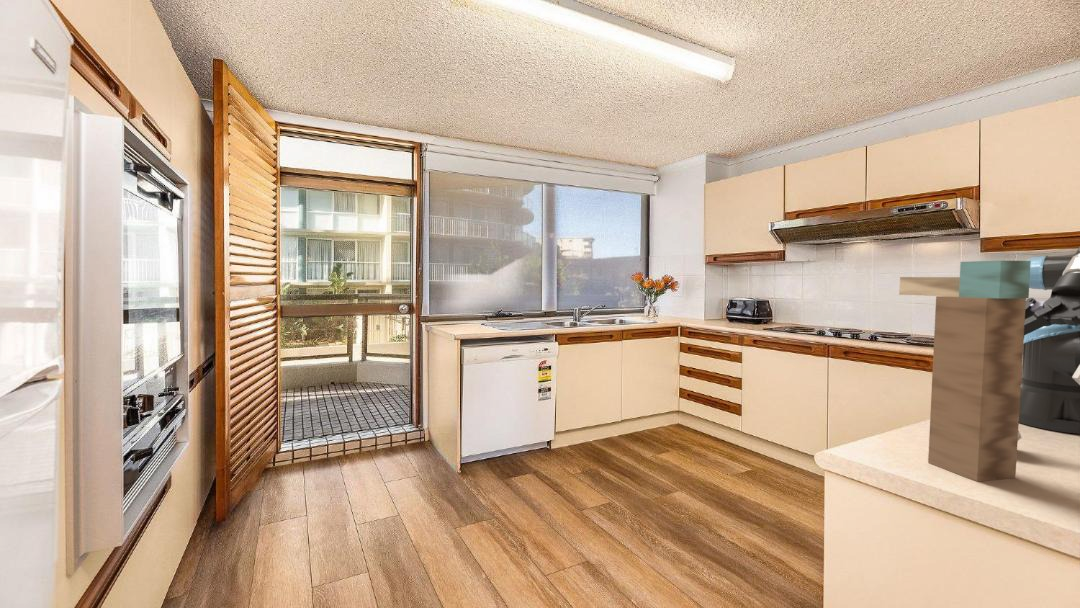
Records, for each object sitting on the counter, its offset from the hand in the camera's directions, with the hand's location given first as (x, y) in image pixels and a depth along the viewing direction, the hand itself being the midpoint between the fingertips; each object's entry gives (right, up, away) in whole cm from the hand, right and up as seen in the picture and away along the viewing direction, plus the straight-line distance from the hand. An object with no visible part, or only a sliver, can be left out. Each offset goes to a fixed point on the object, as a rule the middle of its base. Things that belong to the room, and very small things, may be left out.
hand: (1031, 374), depth 88 cm
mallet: (-18, +15, -4) cm, 23 cm away
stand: (-17, -16, -6) cm, 24 cm away
